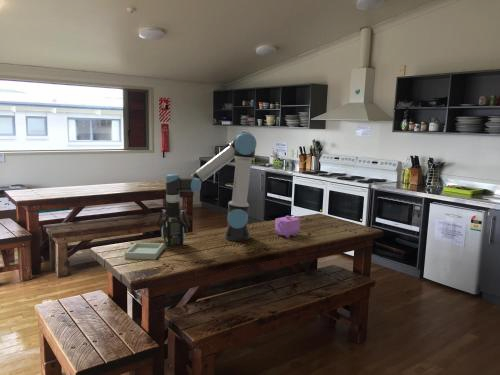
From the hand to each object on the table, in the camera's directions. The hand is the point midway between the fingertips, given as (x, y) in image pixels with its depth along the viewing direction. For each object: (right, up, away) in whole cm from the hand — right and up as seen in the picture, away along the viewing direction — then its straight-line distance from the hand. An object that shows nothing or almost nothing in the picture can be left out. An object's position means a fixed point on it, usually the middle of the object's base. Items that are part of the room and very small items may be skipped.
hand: (173, 238), depth 246 cm
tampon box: (0, -3, +1) cm, 3 cm away
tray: (-12, -6, -18) cm, 22 cm away
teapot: (+69, -1, +23) cm, 73 cm away
